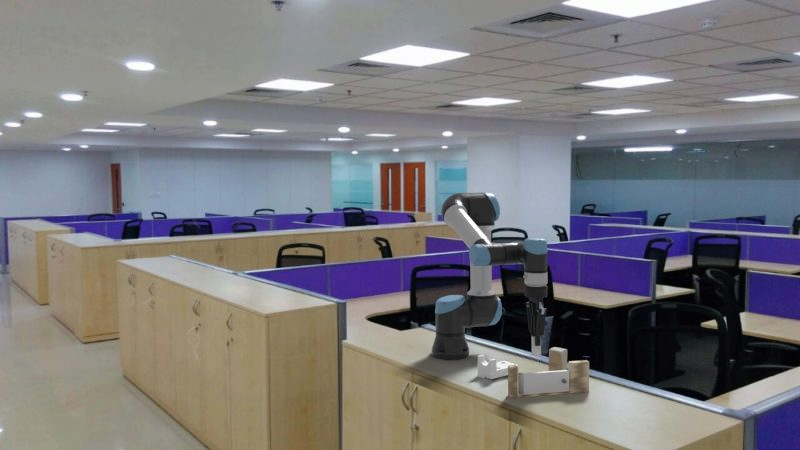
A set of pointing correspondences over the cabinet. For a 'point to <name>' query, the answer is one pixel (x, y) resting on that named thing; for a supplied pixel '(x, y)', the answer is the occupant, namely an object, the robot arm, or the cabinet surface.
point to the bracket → (492, 368)
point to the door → (543, 382)
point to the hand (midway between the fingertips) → (536, 354)
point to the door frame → (576, 384)
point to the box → (557, 359)
